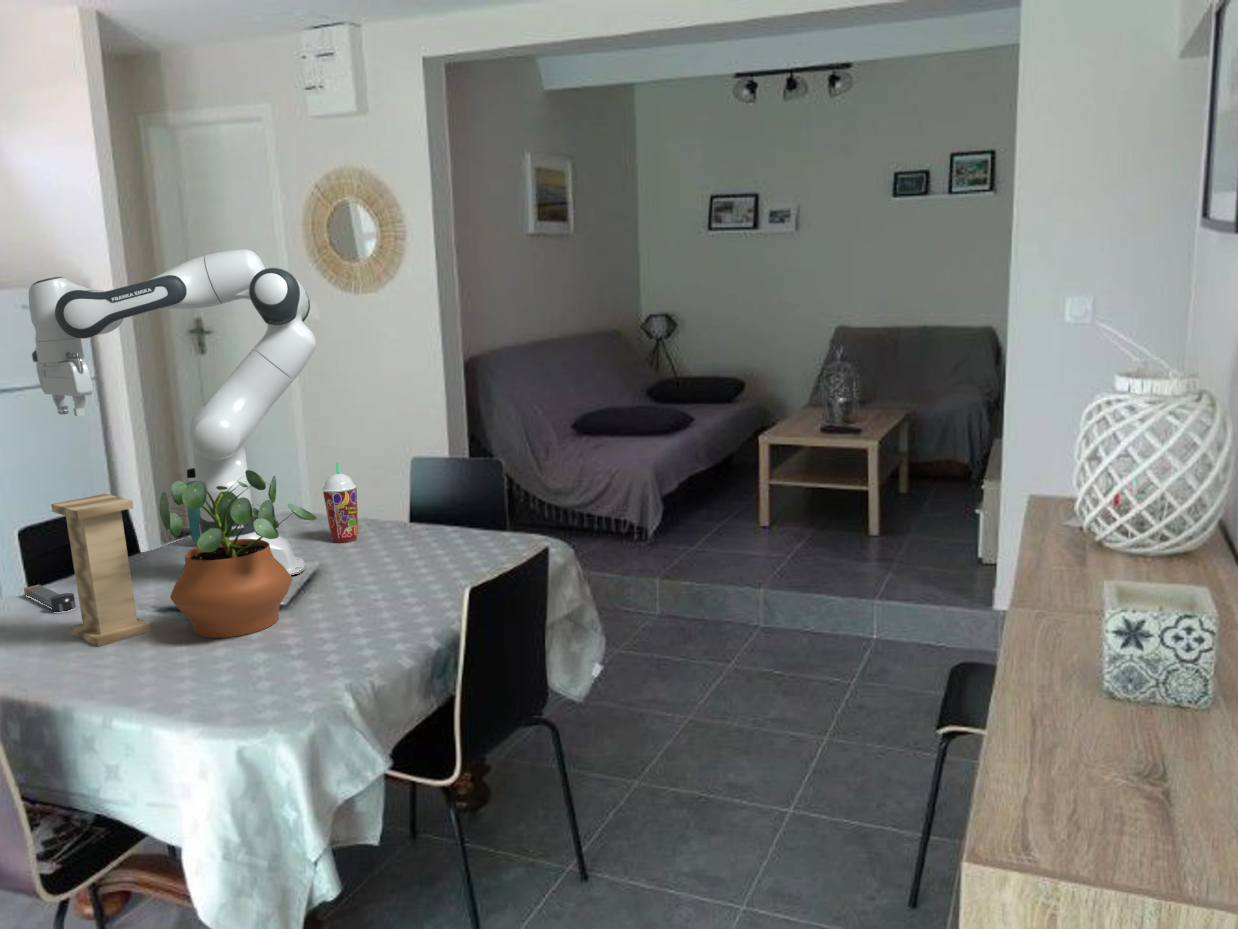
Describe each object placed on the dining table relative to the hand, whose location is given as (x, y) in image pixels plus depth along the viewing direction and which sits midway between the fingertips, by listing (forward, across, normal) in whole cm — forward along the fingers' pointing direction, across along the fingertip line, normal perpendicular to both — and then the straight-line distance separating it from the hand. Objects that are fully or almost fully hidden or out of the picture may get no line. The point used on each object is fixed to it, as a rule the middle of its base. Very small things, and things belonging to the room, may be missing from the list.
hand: (71, 415), depth 229 cm
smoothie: (+40, -19, -52) cm, 69 cm away
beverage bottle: (+39, +11, -30) cm, 51 cm away
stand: (+39, -40, +14) cm, 57 cm away
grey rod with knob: (+38, -7, +14) cm, 42 cm away
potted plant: (+40, -58, -5) cm, 71 cm away
